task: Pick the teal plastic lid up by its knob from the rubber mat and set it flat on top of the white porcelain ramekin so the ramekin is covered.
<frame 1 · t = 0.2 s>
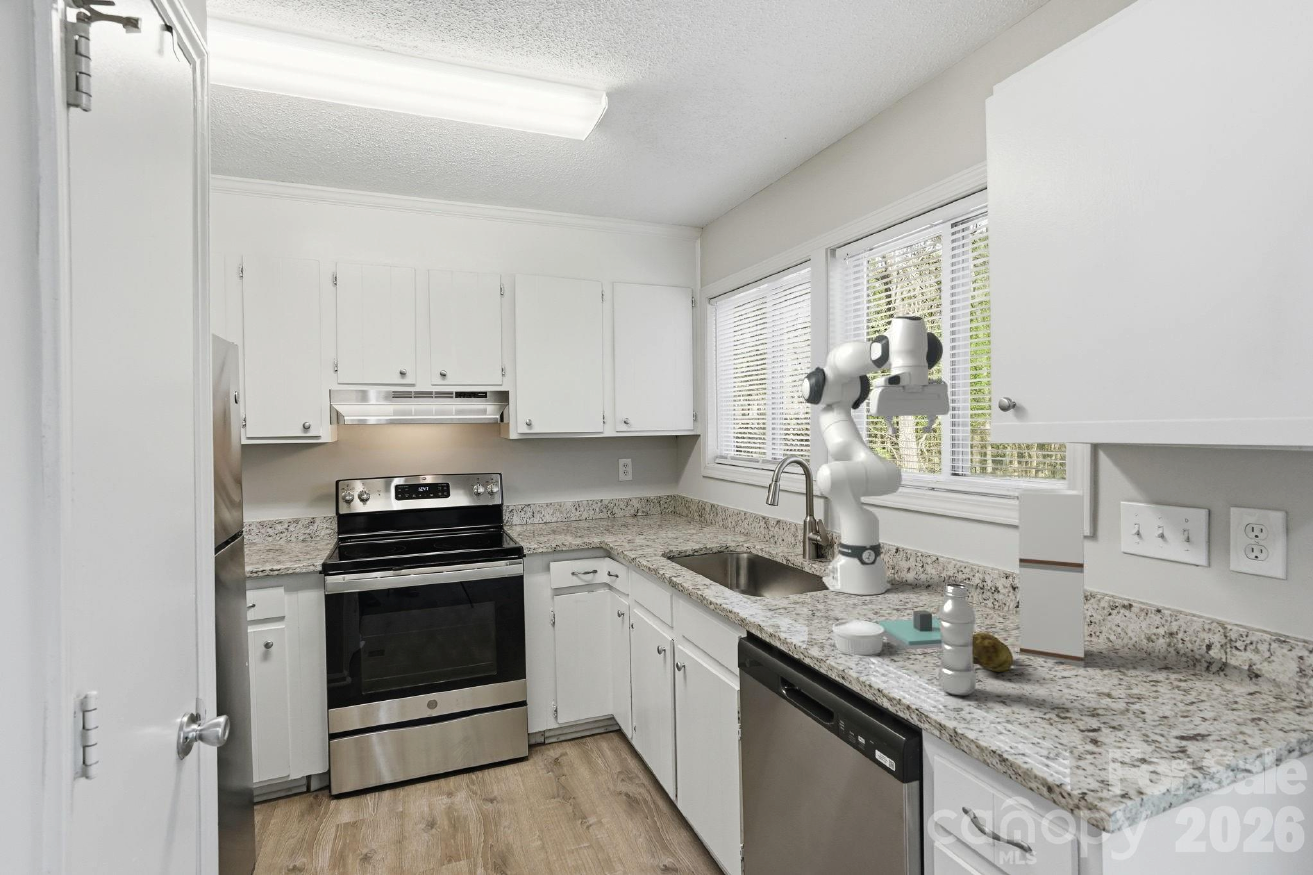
hand: (910, 433, 167), 47 cm above the worktop, tool pointing down, fingers open, 8 cm apart
plastic bottle: (957, 693, 122), on the worktop
lid: (922, 632, 155), point 1 cm above the worktop, touching mat
potato: (992, 671, 133), on the worktop
mat: (922, 635, 155), on the worktop
ramekin: (858, 651, 146), on the worktop
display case: (1052, 655, 141), on the worktop
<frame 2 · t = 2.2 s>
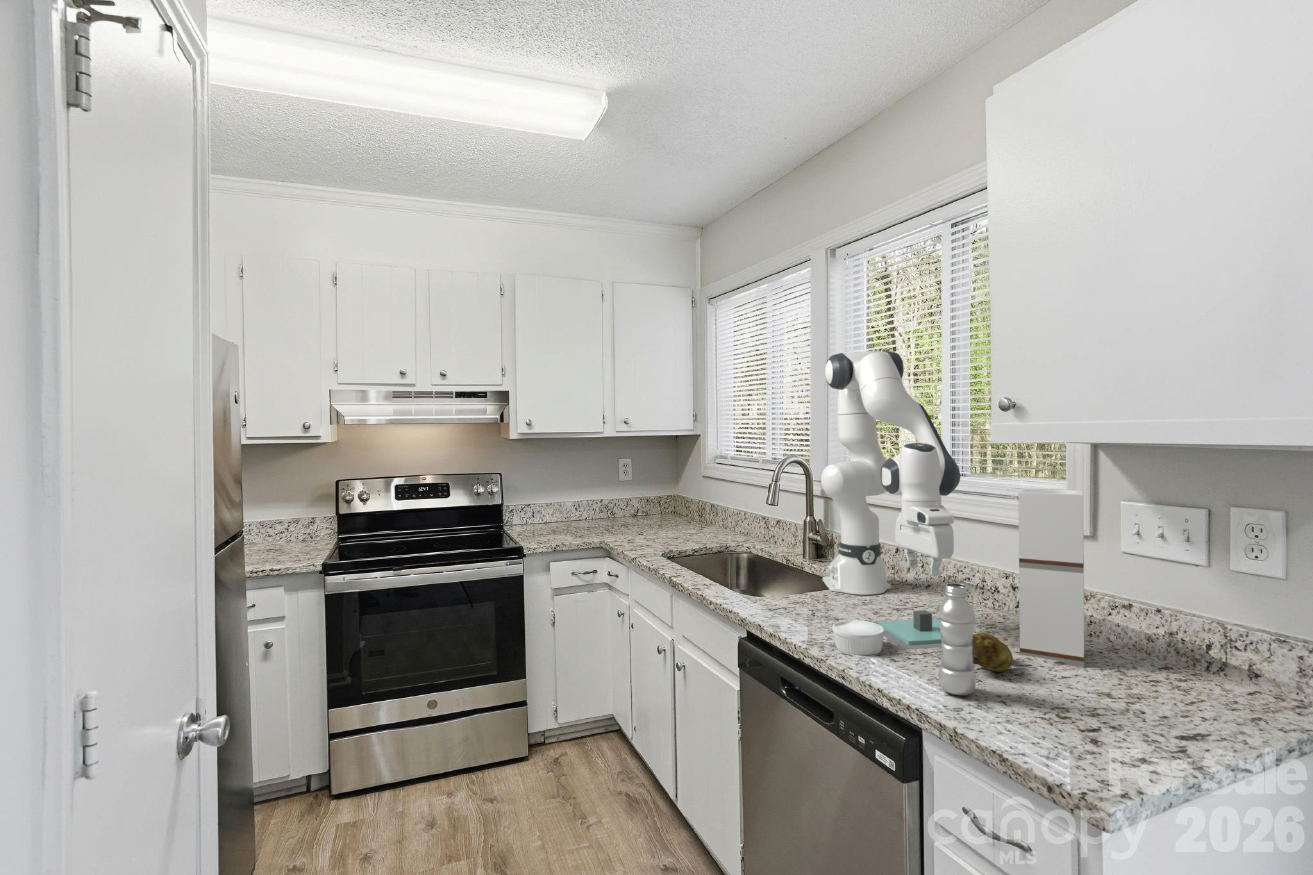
hand: (922, 571, 155), 15 cm above the worktop, tool pointing down, fingers open, 8 cm apart
nothing on the worktop moved.
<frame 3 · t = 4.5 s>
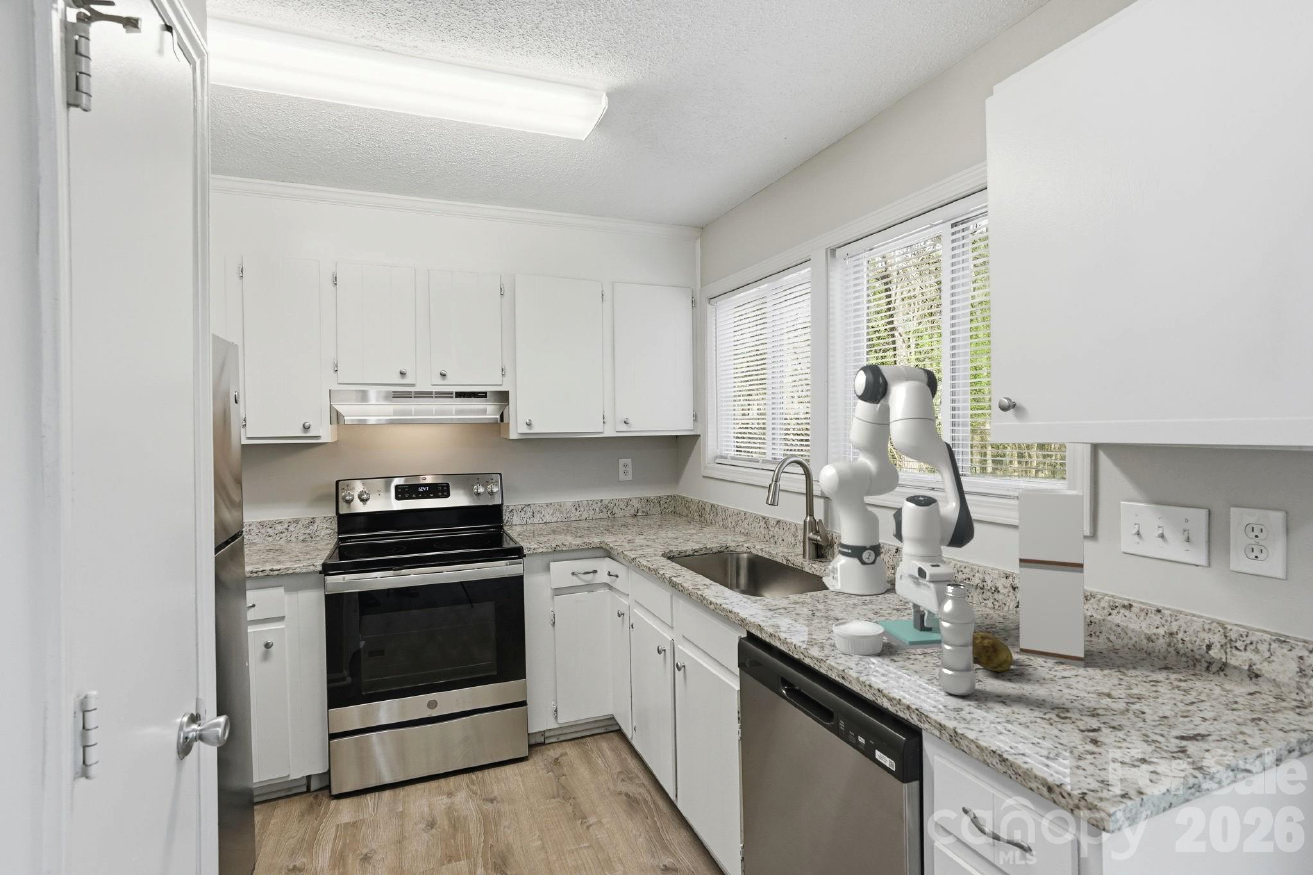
hand: (922, 623, 155), 3 cm above the worktop, tool pointing down, fingers closed on lid, 3 cm apart
lid: (922, 632, 155), point 1 cm above the worktop, touching gripper, mat
everything else where it was.
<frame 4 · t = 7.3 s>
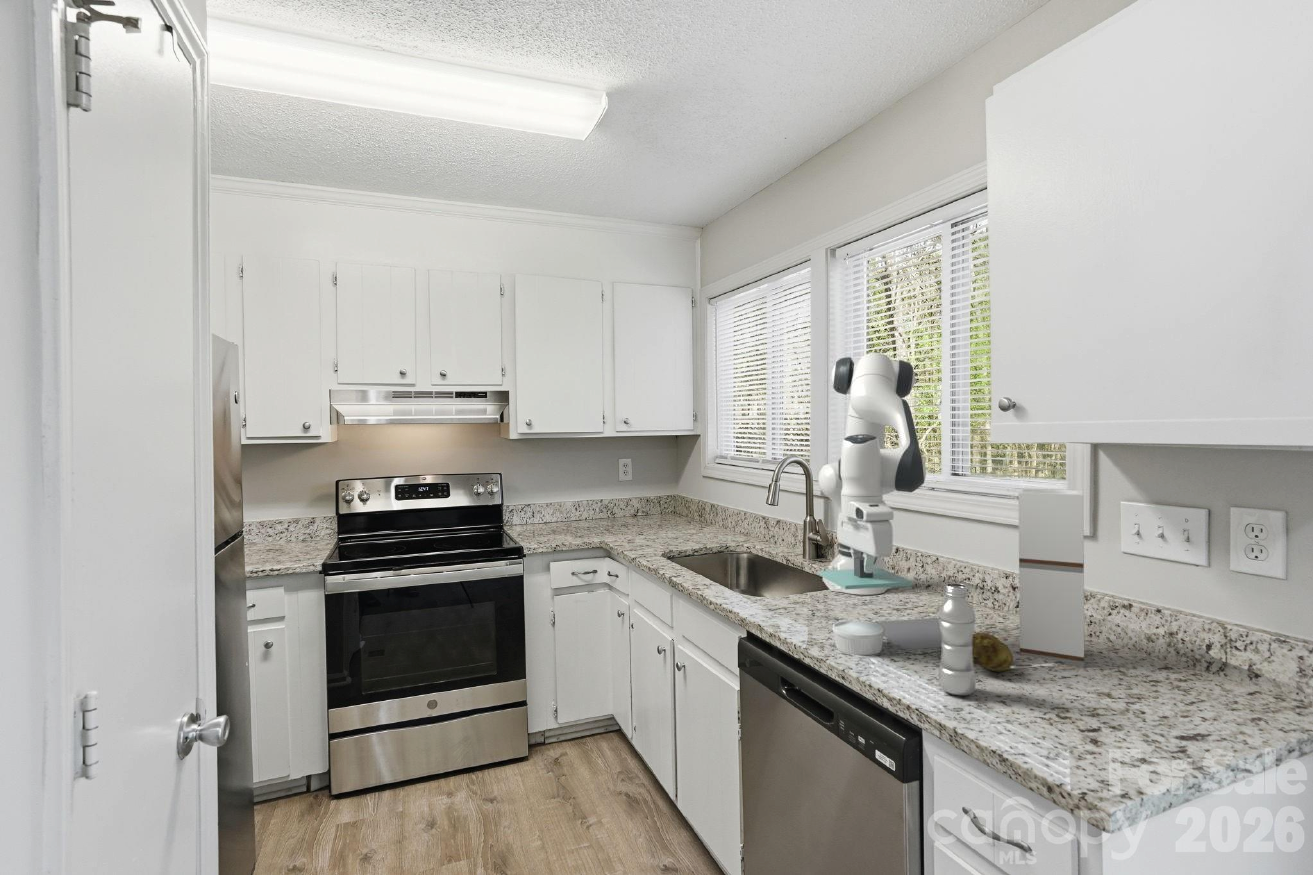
hand: (863, 570, 146), 18 cm above the worktop, tool pointing down, fingers closed on lid, 3 cm apart
lid: (863, 579, 146), point 16 cm above the worktop, touching gripper
everything else where it was.
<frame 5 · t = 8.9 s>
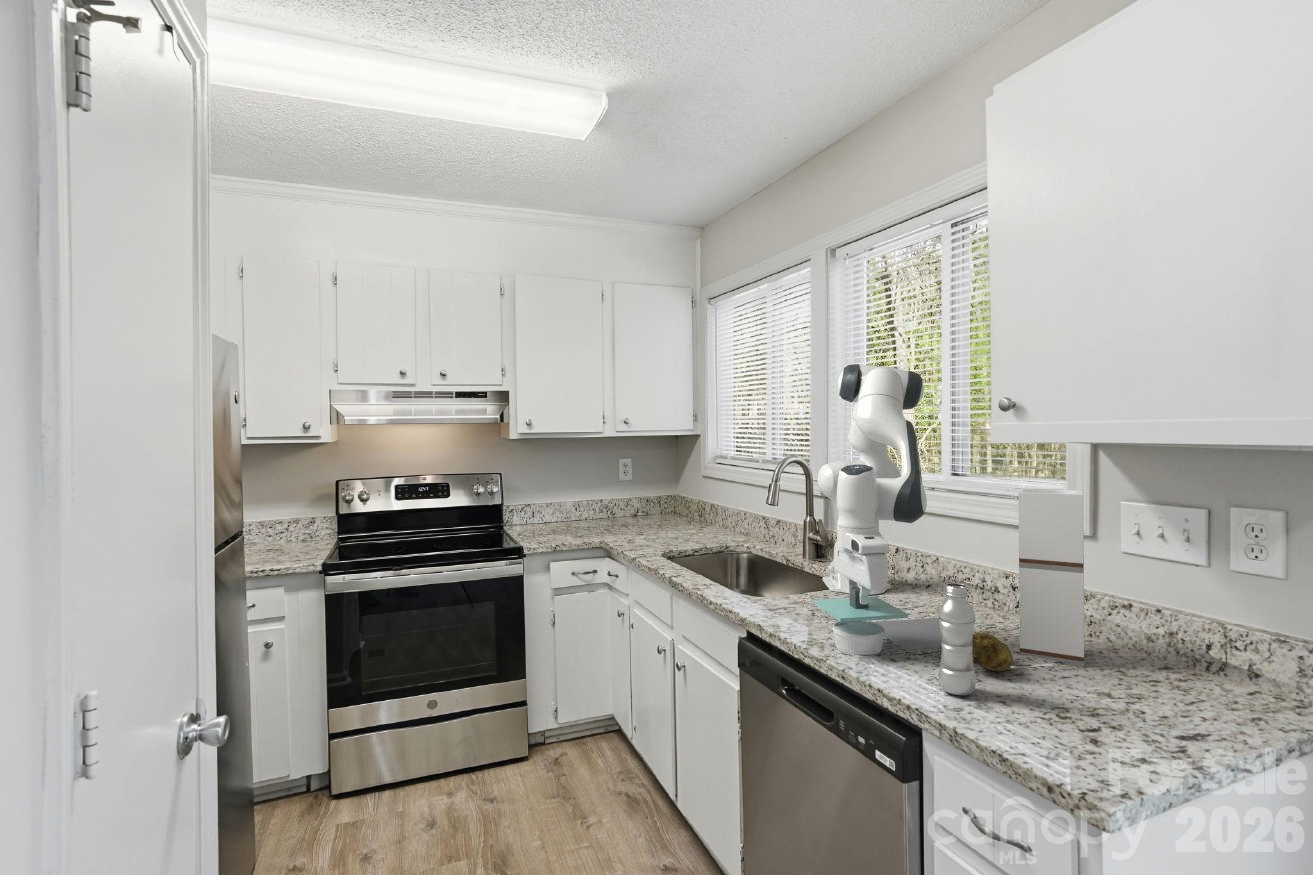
hand: (858, 600, 146), 11 cm above the worktop, tool pointing down, fingers closed on lid, 3 cm apart
lid: (859, 610, 146), point 9 cm above the worktop, touching gripper
everything else where it was.
when the fingers open (8 cm above the worktop, at t = 10.2 s): lid drops 1 cm, resting on ramekin.
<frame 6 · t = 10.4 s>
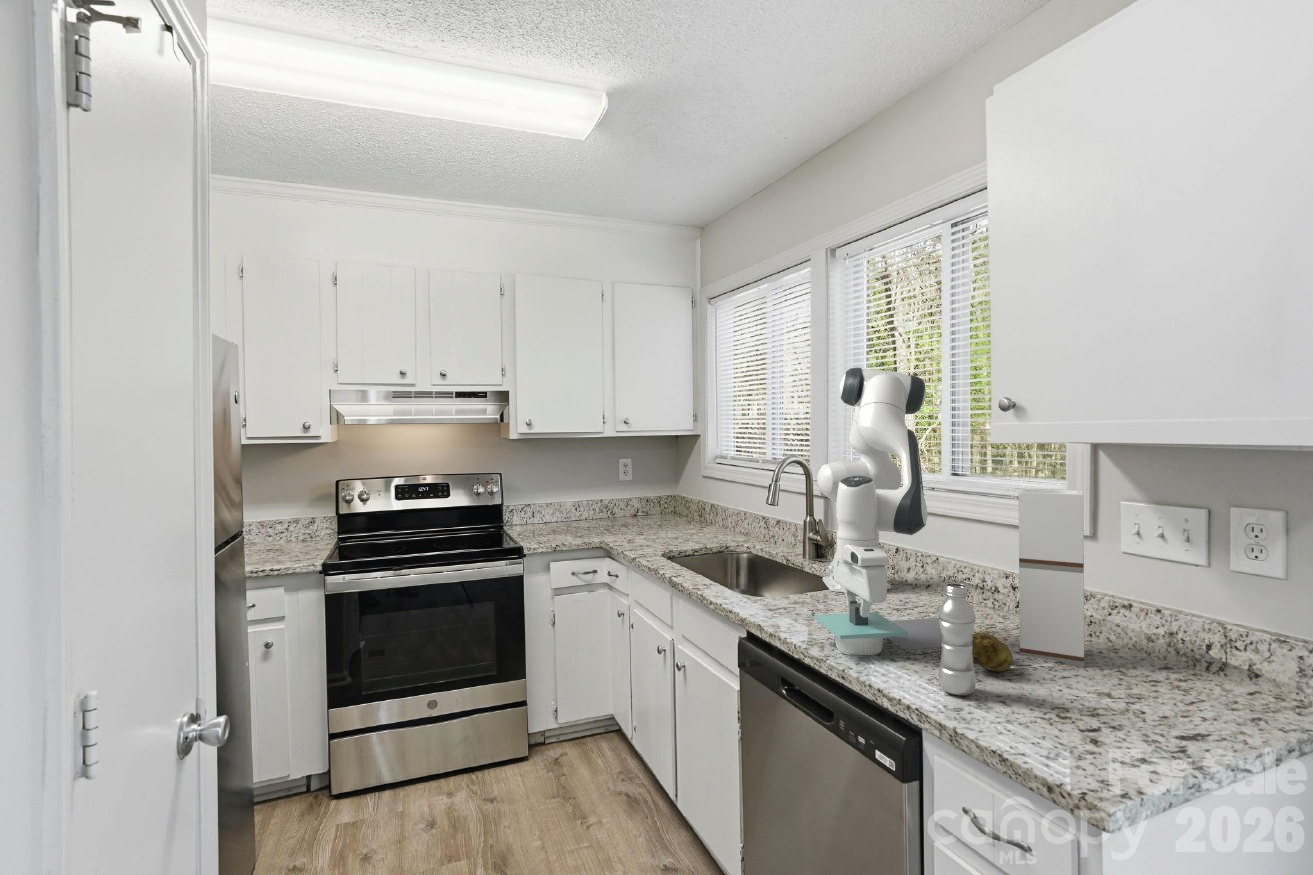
hand: (858, 612, 146), 8 cm above the worktop, tool pointing down, fingers open, 5 cm apart
lid: (858, 626, 146), point 5 cm above the worktop, touching ramekin
ramekin: (858, 651, 146), on the worktop, touching lid
everything else where it was.
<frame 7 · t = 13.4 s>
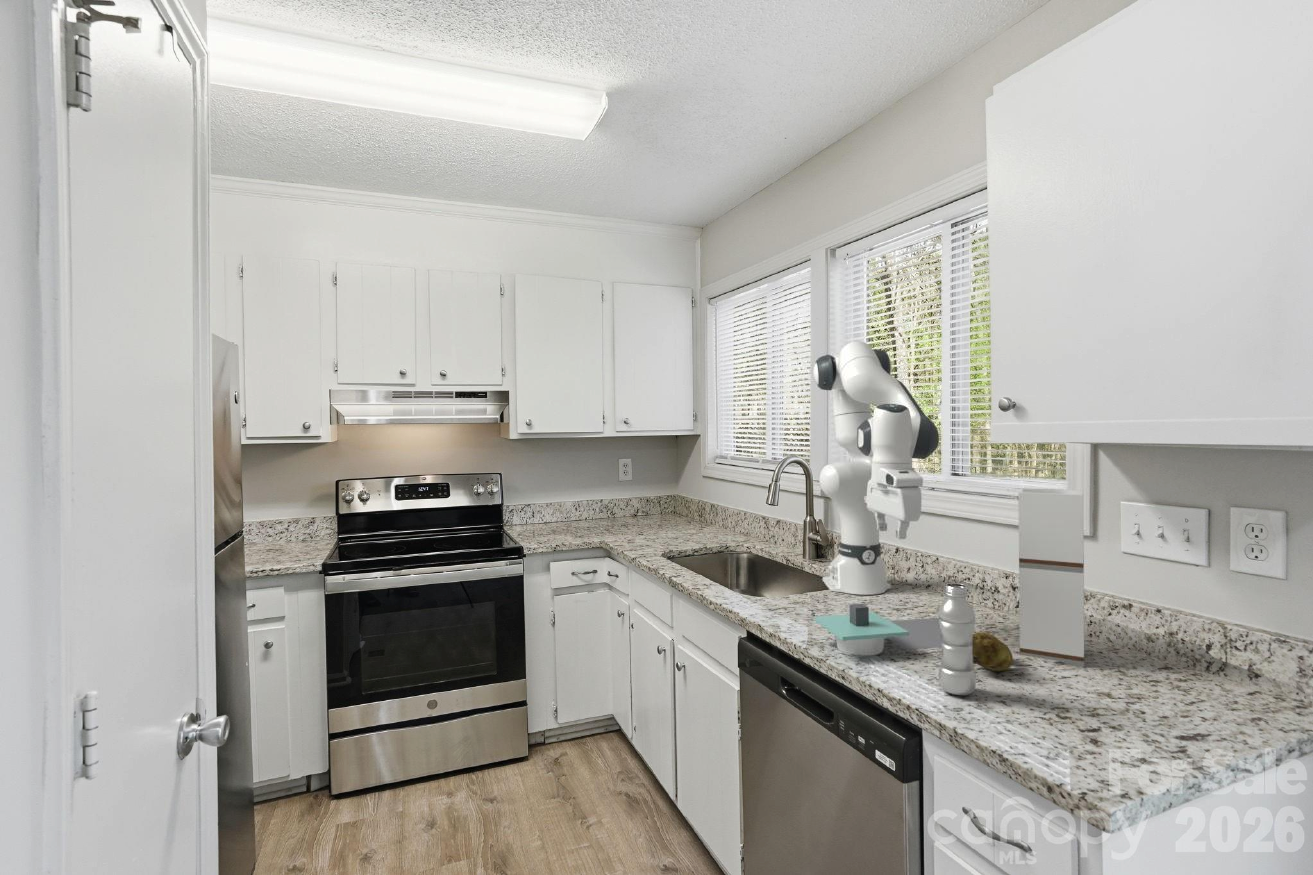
hand: (891, 534, 152), 24 cm above the worktop, tool pointing down, fingers open, 8 cm apart
nothing on the worktop moved.
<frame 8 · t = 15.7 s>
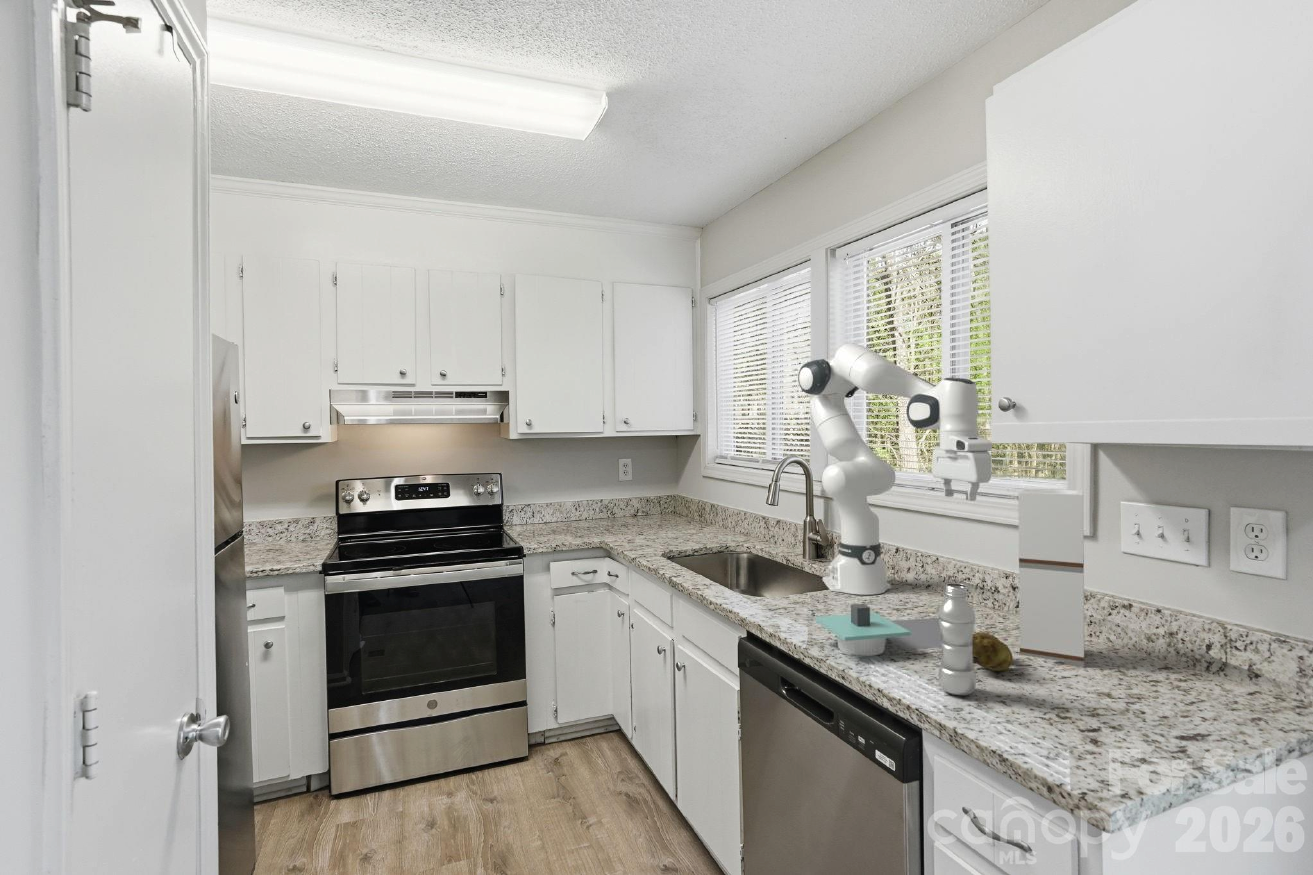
hand: (959, 498, 163), 31 cm above the worktop, tool pointing down, fingers open, 8 cm apart
nothing on the worktop moved.
at the end: lid 0.1 cm from the ramekin (horizontally); lid point 5.1 cm above the worktop; lid tilted 0° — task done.
